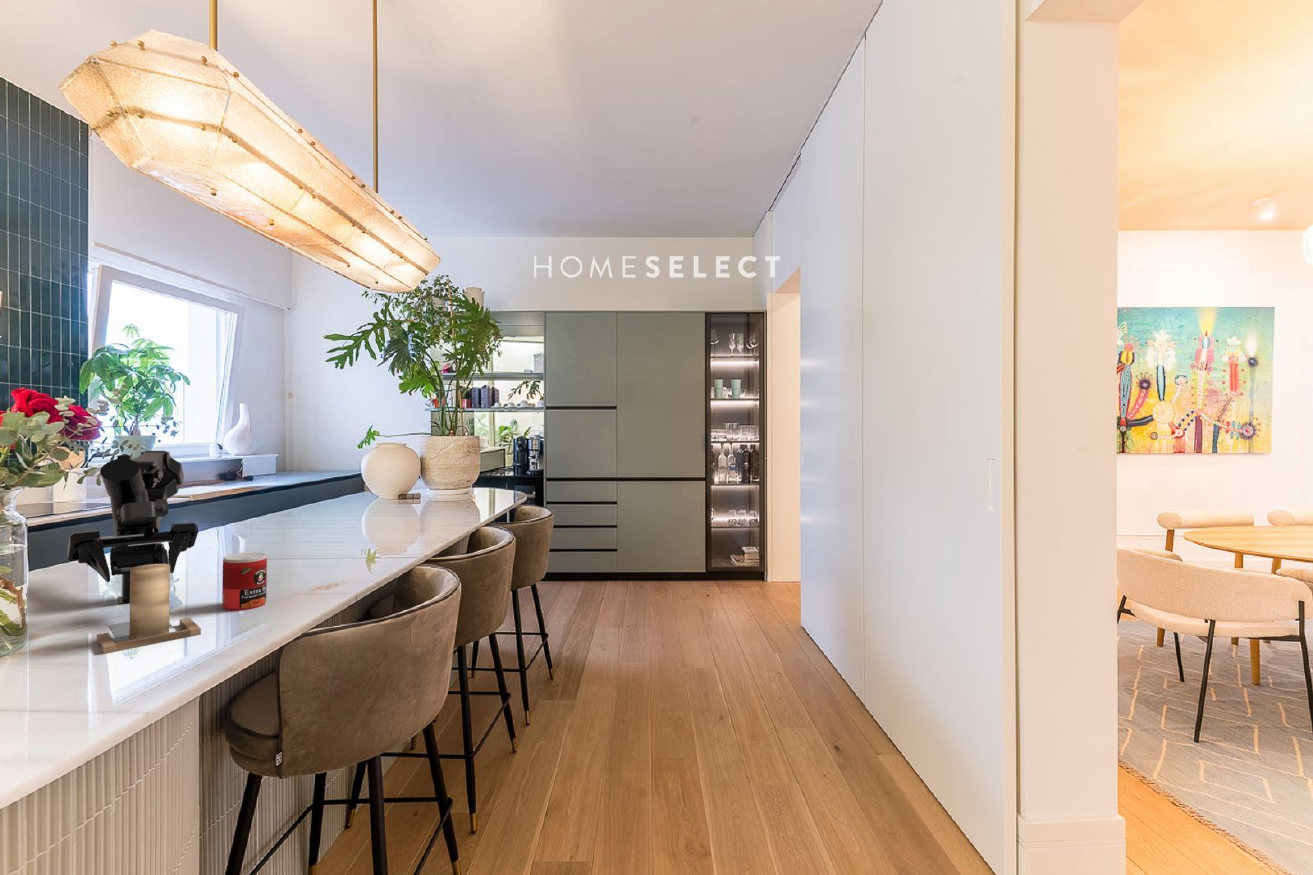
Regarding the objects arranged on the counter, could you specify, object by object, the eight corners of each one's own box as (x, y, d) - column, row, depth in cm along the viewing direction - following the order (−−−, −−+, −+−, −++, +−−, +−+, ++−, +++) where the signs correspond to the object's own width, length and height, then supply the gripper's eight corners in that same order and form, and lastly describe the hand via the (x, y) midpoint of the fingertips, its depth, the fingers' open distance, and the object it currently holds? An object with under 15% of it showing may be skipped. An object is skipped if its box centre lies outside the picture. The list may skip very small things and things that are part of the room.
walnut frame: (96, 643, 103) (96, 634, 103) (189, 625, 112) (189, 617, 112) (103, 656, 97) (103, 647, 97) (200, 636, 107) (200, 628, 107)
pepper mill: (126, 639, 105) (127, 567, 105) (165, 631, 109) (166, 562, 109) (132, 646, 101) (133, 572, 101) (171, 639, 105) (173, 567, 105)
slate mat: (108, 627, 110) (108, 625, 110) (162, 617, 116) (162, 615, 116) (116, 640, 104) (116, 638, 104) (174, 629, 110) (174, 627, 110)
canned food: (244, 614, 120) (245, 561, 120) (212, 610, 121) (212, 558, 121) (275, 603, 127) (276, 553, 127) (244, 600, 129) (245, 551, 129)
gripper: (69, 489, 107) (76, 559, 100) (196, 483, 121) (210, 544, 114) (64, 526, 112) (70, 595, 105) (186, 516, 126) (199, 576, 119)
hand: (141, 576), depth 111 cm, fingers open, 9 cm apart
